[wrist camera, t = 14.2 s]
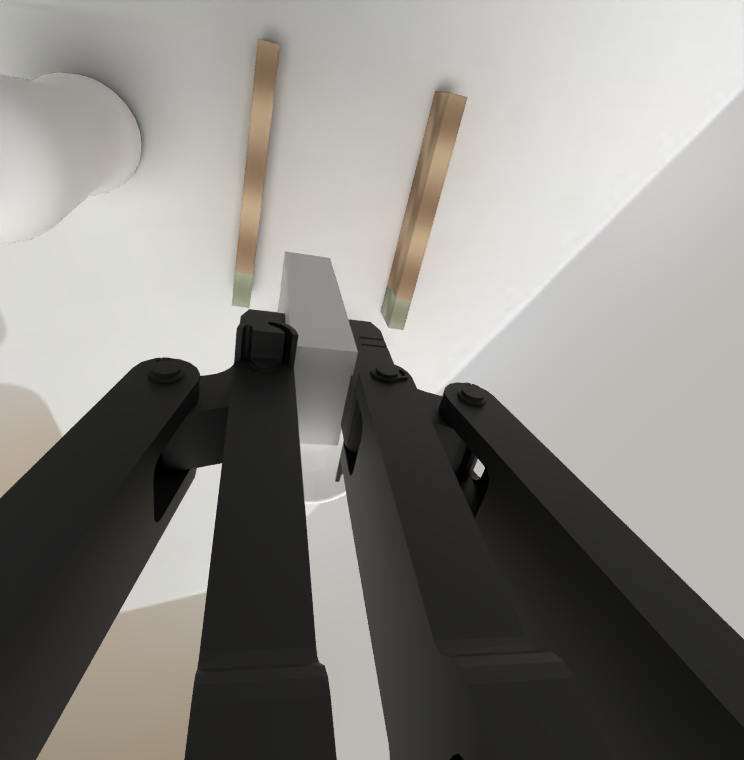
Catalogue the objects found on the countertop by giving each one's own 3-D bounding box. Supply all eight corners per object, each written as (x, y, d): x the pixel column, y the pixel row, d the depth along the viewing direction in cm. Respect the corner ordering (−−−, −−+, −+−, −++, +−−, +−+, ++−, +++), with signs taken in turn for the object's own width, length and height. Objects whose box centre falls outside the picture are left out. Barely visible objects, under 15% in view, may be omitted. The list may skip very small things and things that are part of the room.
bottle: (145, 197, 42) (-50, 365, 17) (36, 176, 40) (-377, 331, 15) (147, 89, 38) (-99, 93, 13) (27, 60, 36) (-548, -6, 11)
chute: (259, 43, 38) (258, 38, 35) (451, 96, 42) (467, 97, 39) (234, 289, 47) (231, 305, 44) (394, 313, 51) (403, 329, 48)
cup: (247, 328, 50) (238, 411, 37) (353, 321, 51) (380, 400, 38) (258, 416, 55) (254, 516, 42) (354, 408, 57) (378, 502, 44)
